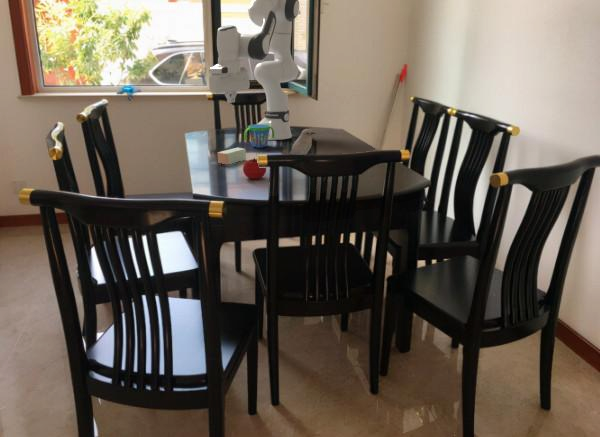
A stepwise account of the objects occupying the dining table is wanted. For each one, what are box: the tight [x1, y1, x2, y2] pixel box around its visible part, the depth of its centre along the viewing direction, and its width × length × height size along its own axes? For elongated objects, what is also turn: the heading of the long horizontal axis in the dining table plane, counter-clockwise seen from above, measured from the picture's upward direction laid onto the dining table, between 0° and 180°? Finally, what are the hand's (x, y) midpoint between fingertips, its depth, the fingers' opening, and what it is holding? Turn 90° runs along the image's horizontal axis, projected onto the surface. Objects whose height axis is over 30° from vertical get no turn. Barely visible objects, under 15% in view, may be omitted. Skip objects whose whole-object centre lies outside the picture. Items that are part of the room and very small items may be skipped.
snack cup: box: [243, 123, 274, 149], centre depth 248 cm, size 16×10×10 cm
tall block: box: [216, 147, 247, 166], centre depth 219 cm, size 5×5×12 cm
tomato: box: [242, 157, 267, 180], centre depth 193 cm, size 9×9×8 cm
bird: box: [288, 128, 316, 155], centre depth 212 cm, size 5×14×15 cm, turn 63°
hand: (231, 102), depth 213 cm, fingers closed
